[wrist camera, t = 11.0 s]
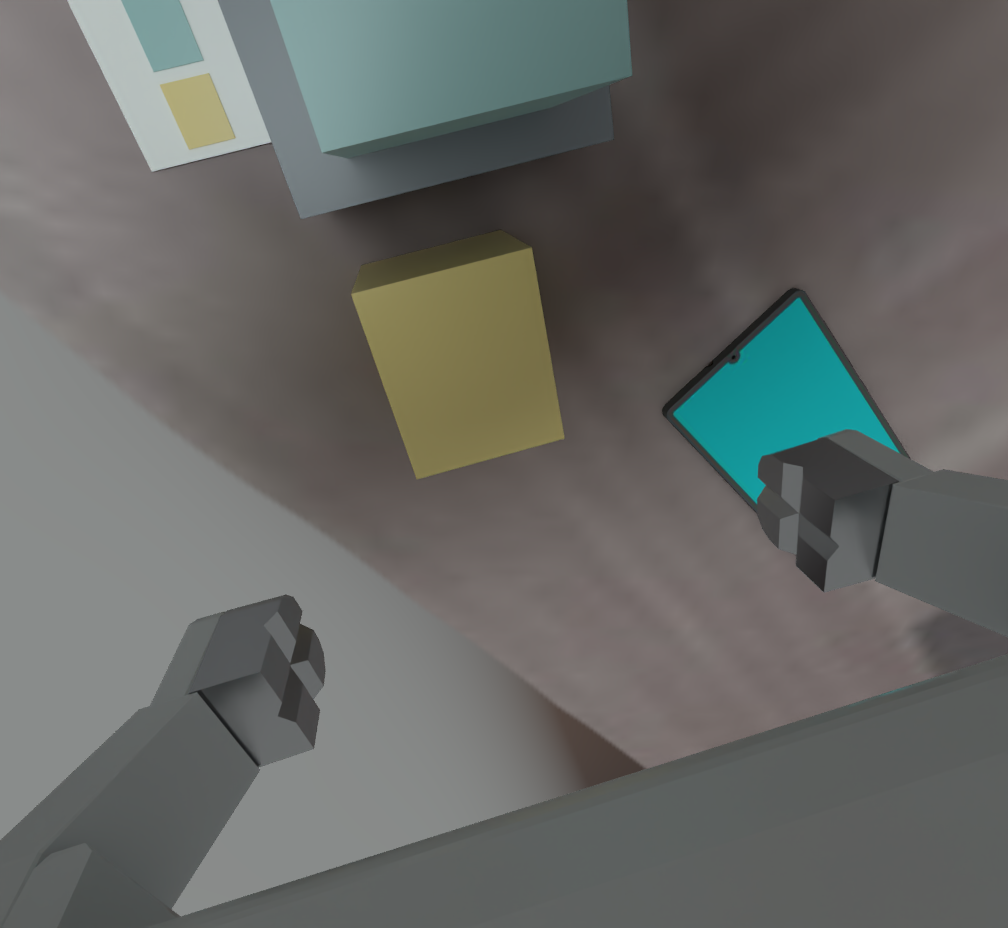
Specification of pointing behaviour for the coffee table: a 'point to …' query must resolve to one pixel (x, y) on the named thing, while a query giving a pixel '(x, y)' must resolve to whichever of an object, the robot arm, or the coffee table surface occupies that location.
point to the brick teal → (444, 63)
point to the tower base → (400, 168)
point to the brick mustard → (461, 350)
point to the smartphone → (774, 395)
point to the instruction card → (173, 77)
